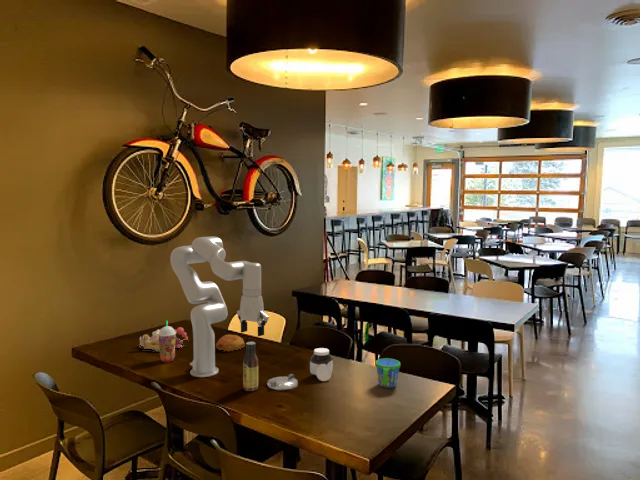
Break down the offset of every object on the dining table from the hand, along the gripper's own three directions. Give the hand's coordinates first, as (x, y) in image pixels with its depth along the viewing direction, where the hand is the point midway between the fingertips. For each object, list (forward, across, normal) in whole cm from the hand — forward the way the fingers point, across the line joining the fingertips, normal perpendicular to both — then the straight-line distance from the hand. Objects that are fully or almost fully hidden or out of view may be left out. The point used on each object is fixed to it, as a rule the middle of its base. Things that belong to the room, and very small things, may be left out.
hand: (252, 333), depth 197 cm
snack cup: (+24, +43, +38) cm, 62 cm away
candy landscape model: (+24, -83, +15) cm, 87 cm away
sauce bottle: (+24, 0, -1) cm, 24 cm away
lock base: (+23, +7, +11) cm, 27 cm away
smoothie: (+24, -59, +1) cm, 64 cm away
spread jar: (+24, +15, +29) cm, 40 cm away
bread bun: (+24, -51, +34) cm, 65 cm away
